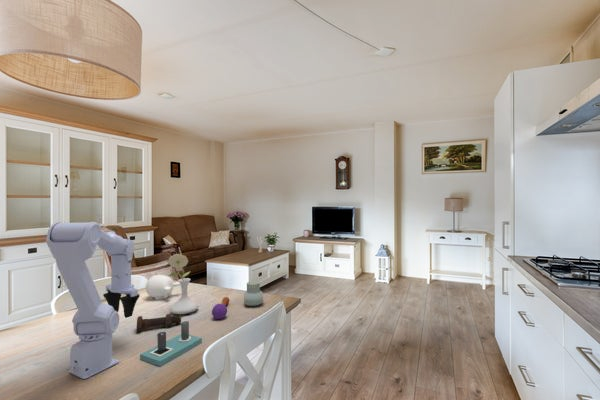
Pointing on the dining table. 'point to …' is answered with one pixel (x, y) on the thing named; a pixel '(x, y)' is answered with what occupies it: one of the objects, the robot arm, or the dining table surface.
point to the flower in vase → (182, 287)
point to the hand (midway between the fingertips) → (121, 314)
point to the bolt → (157, 322)
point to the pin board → (172, 347)
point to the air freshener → (253, 294)
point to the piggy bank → (160, 286)
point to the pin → (161, 342)
